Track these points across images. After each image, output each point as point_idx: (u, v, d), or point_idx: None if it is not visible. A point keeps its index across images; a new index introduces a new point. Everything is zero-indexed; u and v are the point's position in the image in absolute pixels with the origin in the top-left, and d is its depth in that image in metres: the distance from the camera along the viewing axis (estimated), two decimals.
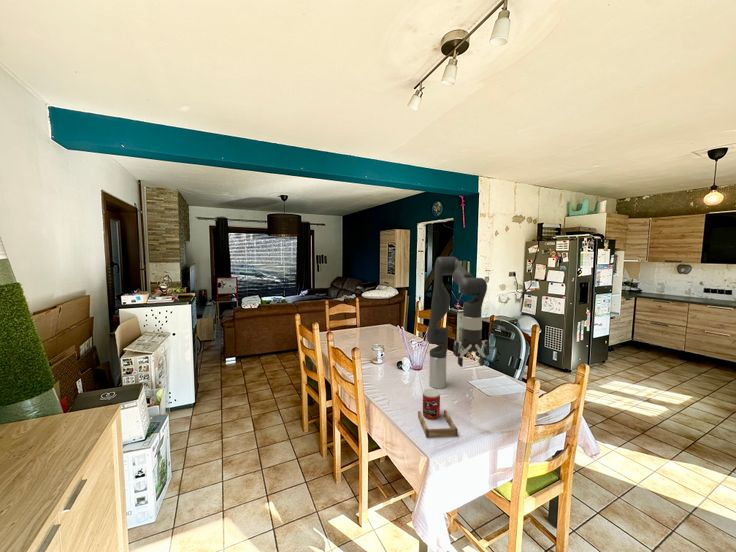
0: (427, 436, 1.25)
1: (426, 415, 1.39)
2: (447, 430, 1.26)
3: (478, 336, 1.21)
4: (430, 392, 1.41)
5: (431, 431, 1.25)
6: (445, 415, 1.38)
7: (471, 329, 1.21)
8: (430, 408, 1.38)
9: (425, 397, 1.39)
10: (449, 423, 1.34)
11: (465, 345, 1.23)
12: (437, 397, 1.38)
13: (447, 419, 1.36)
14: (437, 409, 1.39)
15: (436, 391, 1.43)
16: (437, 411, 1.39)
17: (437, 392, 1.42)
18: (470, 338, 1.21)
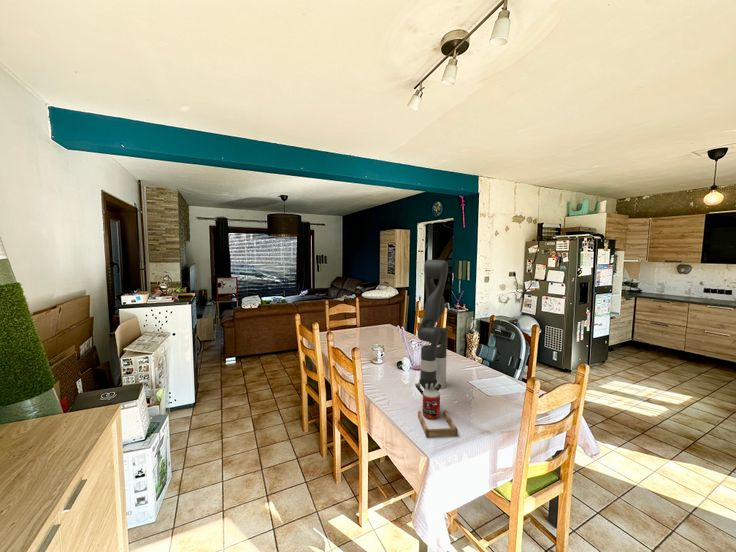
0: (427, 436, 1.25)
1: (426, 415, 1.39)
2: (447, 430, 1.26)
3: (433, 377, 1.42)
4: (430, 392, 1.41)
5: (431, 431, 1.25)
6: (445, 415, 1.38)
7: (426, 371, 1.42)
8: (430, 408, 1.38)
9: (425, 397, 1.39)
10: (449, 423, 1.34)
11: (423, 386, 1.45)
12: (437, 397, 1.38)
13: (447, 419, 1.36)
14: (437, 409, 1.39)
15: (436, 391, 1.43)
16: (437, 411, 1.39)
17: (437, 392, 1.42)
18: (426, 378, 1.42)
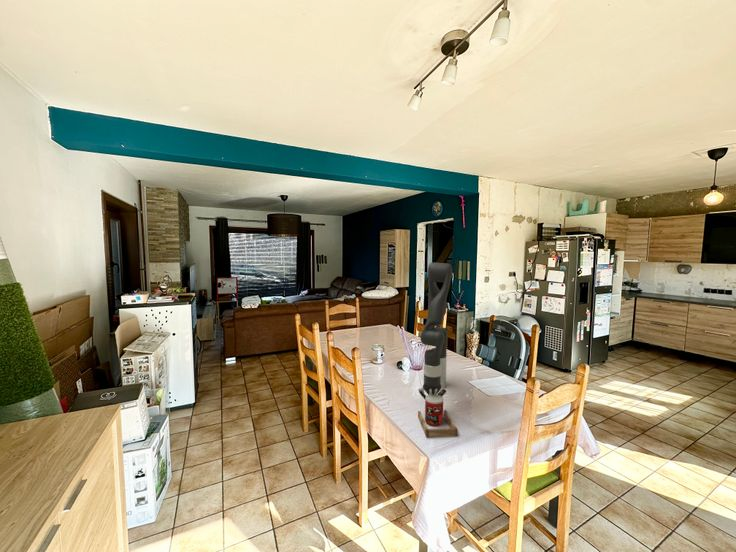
0: (427, 436, 1.25)
1: (428, 421, 1.34)
2: (447, 430, 1.26)
3: (437, 382, 1.37)
4: (432, 398, 1.36)
5: (431, 431, 1.25)
6: (445, 415, 1.38)
7: (430, 376, 1.36)
8: (432, 414, 1.33)
9: (427, 402, 1.34)
10: (449, 423, 1.34)
11: (427, 391, 1.39)
12: (439, 403, 1.32)
13: (447, 419, 1.36)
14: (439, 416, 1.33)
15: (440, 397, 1.37)
16: (439, 418, 1.33)
17: (440, 398, 1.36)
18: (430, 384, 1.37)
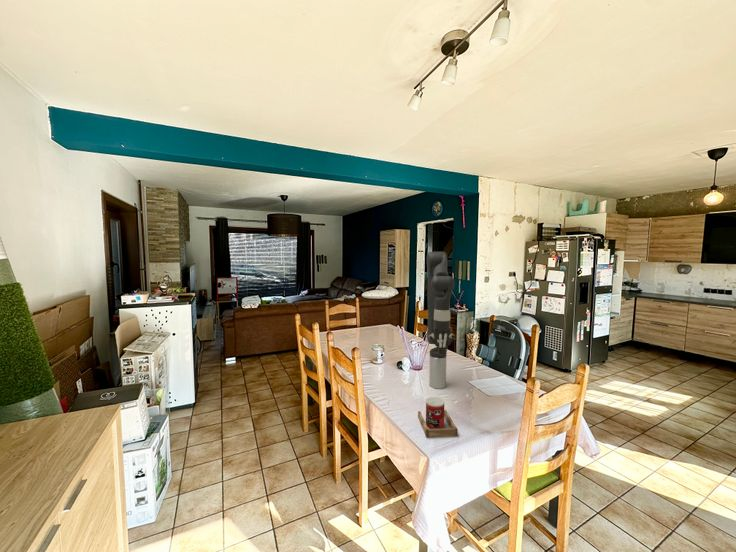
0: (427, 436, 1.25)
1: (428, 424, 1.32)
2: (447, 430, 1.26)
3: (447, 326, 1.40)
4: (433, 401, 1.33)
5: (431, 431, 1.25)
6: (445, 415, 1.38)
7: (440, 320, 1.40)
8: (432, 417, 1.30)
9: (427, 405, 1.32)
10: (449, 423, 1.34)
11: (437, 336, 1.43)
12: (440, 407, 1.30)
13: (447, 419, 1.36)
14: (440, 419, 1.30)
15: (441, 400, 1.34)
16: (440, 422, 1.30)
17: (442, 401, 1.33)
18: (440, 328, 1.40)
